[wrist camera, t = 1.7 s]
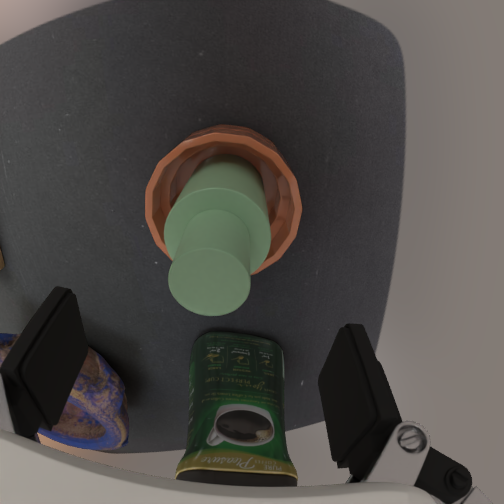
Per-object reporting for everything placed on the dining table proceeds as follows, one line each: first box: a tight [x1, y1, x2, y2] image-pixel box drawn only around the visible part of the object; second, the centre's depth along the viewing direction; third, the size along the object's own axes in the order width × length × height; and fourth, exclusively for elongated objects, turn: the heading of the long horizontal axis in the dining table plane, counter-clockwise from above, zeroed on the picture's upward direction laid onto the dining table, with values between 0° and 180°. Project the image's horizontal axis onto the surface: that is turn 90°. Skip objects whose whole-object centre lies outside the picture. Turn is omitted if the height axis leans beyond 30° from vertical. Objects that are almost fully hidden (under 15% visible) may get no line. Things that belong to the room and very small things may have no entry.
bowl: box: [0, 333, 129, 450], centre depth 30 cm, size 18×18×10 cm
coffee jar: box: [175, 332, 298, 487], centre depth 25 cm, size 10×8×19 cm
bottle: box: [164, 154, 271, 316], centre depth 18 cm, size 6×6×12 cm
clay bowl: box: [145, 124, 302, 275], centre depth 22 cm, size 10×10×5 cm
